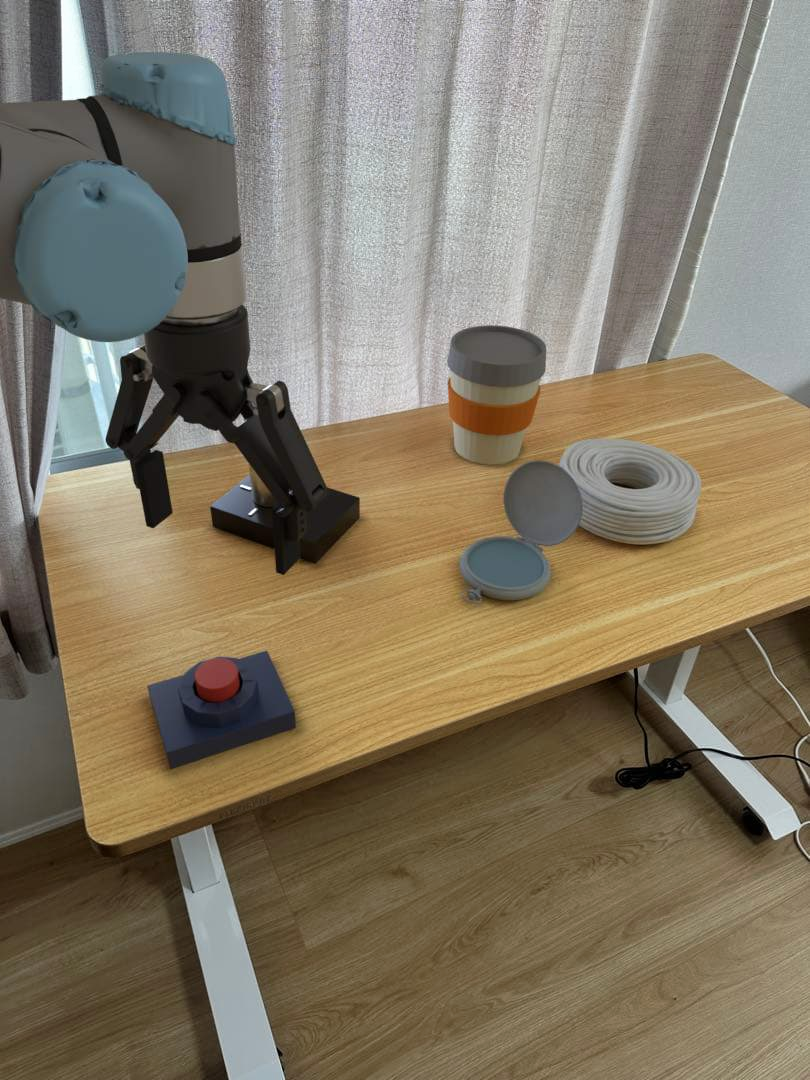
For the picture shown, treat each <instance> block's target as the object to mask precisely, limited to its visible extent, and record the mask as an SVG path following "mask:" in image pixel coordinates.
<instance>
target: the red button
mask: <svg viewBox="0 0 810 1080" xmlns="http://www.w3.org/2000/svg"><path fill="white" fill-rule="evenodd" d="M214 658H215V657H214ZM210 659H211V658H210ZM207 660H208V659H207ZM195 682H196V687H197V692H198V695H199V696H200V697H201V698H202V699H203V700H205V701H207V702H212V703H219V702H223V701H226V700H229V699H230V698H232V697H233V696H234V695H235V694H236V693H237V691H238V689H239V685H240V683H239V676H238V669H237V666H236V665H235V664H234V663H233V662H232V661H230V660H228V659H223V658H215V659H211V660H208V661H206V662H204V663H203V664H201V665H200V666H199V667H198V669H197V670H196V672H195Z"/></svg>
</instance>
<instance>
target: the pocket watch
mask: <svg viewBox="0 0 810 1080" xmlns="http://www.w3.org/2000/svg"><path fill="white" fill-rule="evenodd" d="M502 499H503V508H504V512H505V516H506V518H507V520H508V522H509V524H510V526H511V527H512V528H513V530H514V531H515V532H516V533H517V534H518V535H519V536H516V537H511V536H501V535H500V536H489V537H485V538H481V539H479V540H476V541H474V542H472V543H471V544H470V545H469V546H467V548H466V549H465V550H464V551H463V552H462V554H461V556H460V559H459V563H458V567H459V572H460V574H461V576H462V579H463V580H464V582H465V583H466V585H468V586H469V587H470V588H471V589H469V590H468V589H467V590H463V591H461V593H460V595H461V598H462V599H463V600H464V601H466V602H469V603H471V604H480V603H481V602H482V601H483V599H482V595H483V596H485V597H489V598H492V599H496V600H503V601H519V600H526V599H528V598H532V597H534V596H537V595H538V594H540V593H541V592H542V591H543V590H544V589H545V588H547V585H548V584H549V582H550V580H551V577H552V568H551V564H550V562H549V560H548V558H547V557H546V555H545V554H544V553H543V552H544V548H542V547H541V546H543V547H553V546H558V545H560V544H562V543H564V542H566V541H567V540H568V539H570V538H571V537H572V536H573V535H574V534H575V532H576V531H577V529H578V527H580V526H579V523H580V520H581V517H582V509H583V505H582V497H581V493H580V490H579V488H578V486H577V484H576V482H575V481H574V479H573V478H572V477H571V475H570V474H569V473H568V472H567V471H565V470H564V469H563V468H561V467H560V466H559V464H556V463H554V462H552V461H548V460H542V459H541V460H539V459H538V460H537V459H536V460H529V461H526V462H524V463H522V464H521V465H519V466H518V467H516V468H515V469H514V470H513V471H512V472H511V474H510V475H509V476H508V479H507V480H506V483H505V485H504V490H503V498H502ZM464 593H467V594H468V597H467V598H466V597H465V596H464ZM475 600H479V601H475Z"/></svg>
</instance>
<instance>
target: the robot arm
mask: <svg viewBox="0 0 810 1080" xmlns="http://www.w3.org/2000/svg"><path fill="white" fill-rule="evenodd" d="M100 79H101V82H100V84H99V91H100V94H97V95H96V94H95V95H89V96H87V97H85V98H84V97H82V98H76V99H62V100H60V99H59V100H37V101H16V102H14V101H13V102H0V299H2V300H6V301H11V302H16V303H19V304H23V305H28V306H31V308H32V309H33V310H34V311H35V312H36V313H37V314H38V315H39V316H40V317H42V319H44V320H46V321H49V322H51V323H52V324H54V325H56V326H57V327H60V328H61V329H63V330H65V331H66V332H68V334H70V335H73V336H75V337H78V338H81V339H83V340H88V341H92V342H97V343H98V342H99V343H118V342H119V343H120V342H123V341H128V340H133V339H134V338H137V337H140V336H142V335H143V342H144V344H143V345H140V346H139V347H137V348H135V349H133V350H130V351H129V352H128V353H125V354H124V355H122V356H120V358H119V365H120V377H121V381H120V385H119V388H118V392H117V395H116V399H115V402H114V406H113V410H112V412H111V413H112V414H111V417H110V421H109V424H108V428H107V432H106V436H105V443H106V445H107V446H108V447H109V448H110V449H112V450H115V449H120V450H121V451H122V452H123V455H124V457H125V458H126V459H127V460H128V461H129V464H130V465H129V466H130V470H131V473H132V474H131V475H132V480H133V484H134V486H135V489H138V490H139V494H140V498H141V504H142V510H143V515H144V521H145V525H146V527H148V528H150V529H155V528H156V527H157V526H159V525H160V524H161V523H162V522H164V520H166V519H167V518H169V517H170V516H171V515H172V514H173V513H174V512H173V506H172V501H171V500H172V499H171V493H170V487H169V481H168V475H167V469H166V464H165V458H164V457H165V456H164V452H163V451H161V450H158V449H155V450H153V451H151V449H153V448H155V447H156V446H157V445H159V444H160V443H159V442H160V440H161V439H162V437H163V436H164V435H165V434H166V432H167V431H168V430H169V429H170V428H171V426H172V425H173V424H174V423H175V421H176V420H177V419H178V417H181V418H182V421H183V422H184V423H187V424H190V425H201V426H202V427H204V428H206V429H208V430H211V431H215V432H217V431H219V433H220V434H221V436H222V437H223V439H224V440H225V441H226V442H227V443H229V444H233V445H235V447H236V448H237V449H238V450H239V452H240V454H241V455H242V456H243V457H244V460H246V462H247V463H248V465H249V464H250V466H251V467H252V468H253V470H254V471H255V472H256V474H257V475H258V476H259V478H260V479H261V481H262V482H263V483H264V485H265V486H266V487H267V489H268V490H269V491H270V493H271V494H272V496H273V497H274V498H275V500H276V501H277V502H278V504H277V505H275V506H274V507H273V508H272V522H273V536H274V549H273V550H274V563H275V574H279V575H282V576H285V575H286V574H287V573H288V572H289V571H290V570H291V569H292V567H293V566H295V565H296V564H297V562H298V561H299V560H301V559H300V558H301V551H300V538H301V537H302V536H303V535H304V534H305V533H306V530H307V520H306V519H307V512H310V511H312V510H313V509H314V508H315V507H316V506H317V505H318V504H319V503H320V502H321V501H322V500H323V499H324V498H325V497H326V496H327V495H328V488H329V487H328V486H327V484H326V482H325V480H324V478H323V476H322V473H321V471H320V469H319V467H318V465H317V463H316V460H315V458H314V456H313V454H312V452H311V450H310V448H309V446H308V443H307V441H306V439H305V437H304V435H303V432H302V430H301V428H300V426H299V424H298V421H297V419H296V418H295V416H294V413H293V411H292V409H291V408H292V407H291V402H290V395H289V388H288V386H287V384H286V383H285V382H284V381H283V380H276V381H274V382H273V383H272V384H270V385H267V384H261V383H254V381H253V380H252V377H251V375H250V372H249V369H248V365H249V359H250V356H251V355H250V354H251V339H250V326H249V325H250V324H249V313H248V309H247V307H245V305H244V303H245V302H246V301H247V297H248V294H247V293H248V292H247V284H246V274H245V273H246V272H245V261H244V260H245V259H244V250H243V243H242V234H241V226H240V225H241V224H240V223H241V222H240V212H239V211H240V210H239V196H238V194H239V193H238V179H237V178H238V177H237V161H236V145H237V138H236V134H235V130H234V128H235V127H234V122H233V114H232V104H231V99H230V96H229V90H228V89H229V88H228V84H227V79H226V75H225V74H224V72H223V70H222V68H220V66H219V65H218V64H217V63H216V62H215V61H213V60H212V59H209V58H207V57H203V56H200V55H197V54H190V53H181V52H168V51H167V52H166V51H139V52H138V51H137V52H130V53H127V54H125V53H119V54H114V55H110V56H107V57H106V58H105V59H104V60H103V62H102V63H101V65H100ZM153 381H155V383H156V384H157V385H158V387H159V389H160V390H161V392H162V394H163V396H162V397H161V398H160V400H159V401H158V402H157V404H155V406H154V407H153V408H152V410H151V412H152V413H150V415H149V416H148V418H147V419H146V420H145V421H144V423H143V424H142V426H141V427H140V428H139V426H140V423H141V420H142V417H143V413H144V411H145V407H146V404H147V401H148V397H149V394H150V391H151V388H152V384H153ZM240 415H241V416H242V418H243V421H242V423H241V424H239V425H238V426H237V425H235V424H234V422H235V421H236V420H237V419H238V417H239V416H240ZM138 429H139V430H138ZM327 487H328V488H327ZM289 488H290V490H291V491H290V492H289ZM306 511H307V512H306Z"/></svg>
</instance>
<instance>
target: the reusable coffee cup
mask: <svg viewBox="0 0 810 1080" xmlns="http://www.w3.org/2000/svg"><path fill="white" fill-rule="evenodd" d="M446 363H447V367H448V369H449V378H448V380H447V394H448V396H447V397H448V398H447V399H448V412H449V413H448V414H449V417H450V418H451V420H452V427H453V444H454V449H455V451H456V453H457V454H458V455H459V456H460V457H462V458H463V459H465V460H466V461H469V462H472V463H475V464H480V465H487V466H488V465H489V466H490V465H492V466H494V465H496V466H497V465H502V464H503V465H504V464H507V463H509V462H511V461H512V462H513V460H515V459H516V458H517V457H518V456H519V454H520V452H521V449H522V445H523V441H524V437H525V434H526V430H527V428H528V427H529V426H530V425H531V423H532V421H533V417H534V415H535V411H536V407H537V405H538V400H539V397H540V394H541V386H540V382H541V379H542V377H543V376H544V375H545V373H546V370H547V369H546V367H547V345H546V343H545V342H544V340H543V339H542V338H541V337H539V336H537V335H536V334H534V333H531V332H530V331H527V330H524V329H522V328H518V327H517V328H516V327H512V326H507V325H496V324H495V325H492V324H489V325H488V324H486V325H485V324H484V325H475V326H470V327H467V328H463V329H461V330H459V331H457V332H455V333H454V335H453V336H452V337H451V339H450V345H449V350H448V355H447V359H446Z"/></svg>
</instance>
